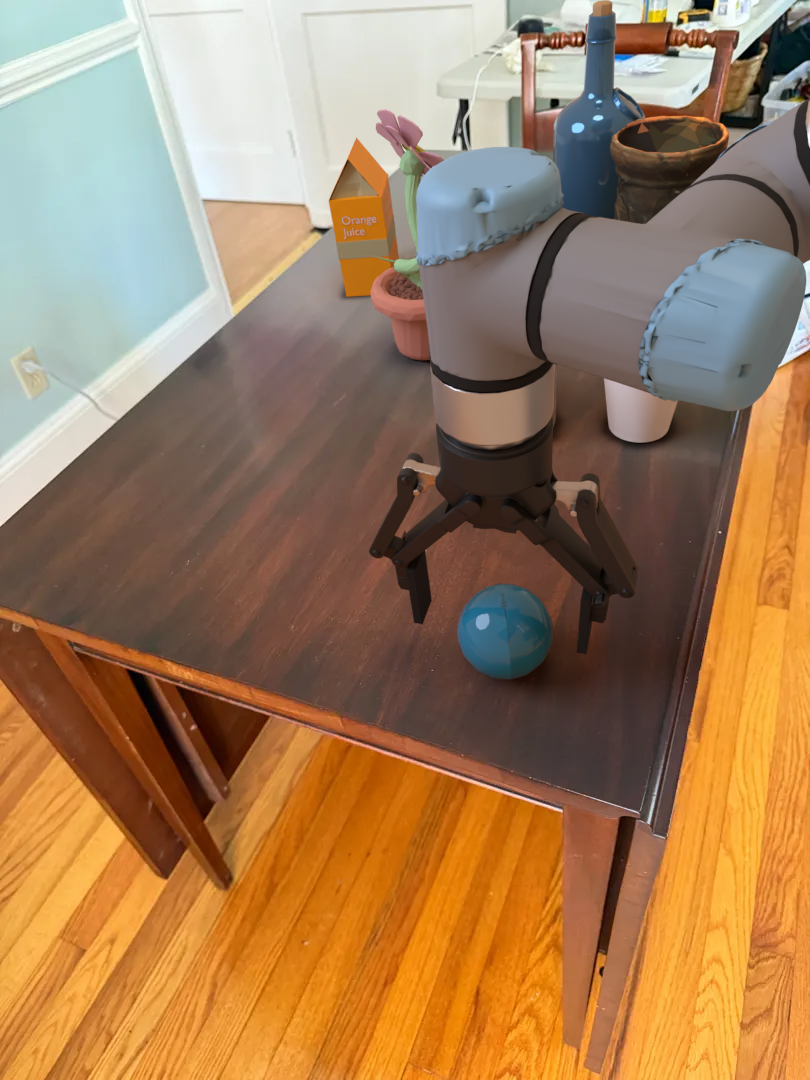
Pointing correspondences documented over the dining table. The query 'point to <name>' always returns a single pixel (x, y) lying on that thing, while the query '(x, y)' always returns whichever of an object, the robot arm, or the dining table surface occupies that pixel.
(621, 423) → the cup
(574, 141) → the wine bottle
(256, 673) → the dining table surface
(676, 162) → the vessel
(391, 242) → the orange juice
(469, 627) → the ball
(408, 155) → the decorative flower
